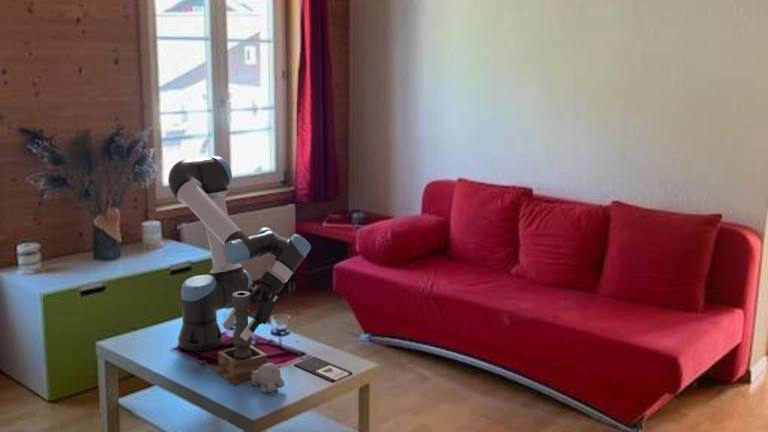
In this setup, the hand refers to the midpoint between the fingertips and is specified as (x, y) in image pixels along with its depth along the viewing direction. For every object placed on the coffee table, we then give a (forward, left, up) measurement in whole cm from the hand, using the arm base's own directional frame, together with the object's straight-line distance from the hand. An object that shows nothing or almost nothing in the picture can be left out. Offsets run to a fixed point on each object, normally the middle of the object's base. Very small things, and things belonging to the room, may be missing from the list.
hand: (233, 333), depth 245 cm
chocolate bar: (+14, +25, -15) cm, 32 cm away
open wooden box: (0, +3, -14) cm, 14 cm away
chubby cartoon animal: (+15, +3, -14) cm, 21 cm away
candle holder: (0, +3, -13) cm, 13 cm away
